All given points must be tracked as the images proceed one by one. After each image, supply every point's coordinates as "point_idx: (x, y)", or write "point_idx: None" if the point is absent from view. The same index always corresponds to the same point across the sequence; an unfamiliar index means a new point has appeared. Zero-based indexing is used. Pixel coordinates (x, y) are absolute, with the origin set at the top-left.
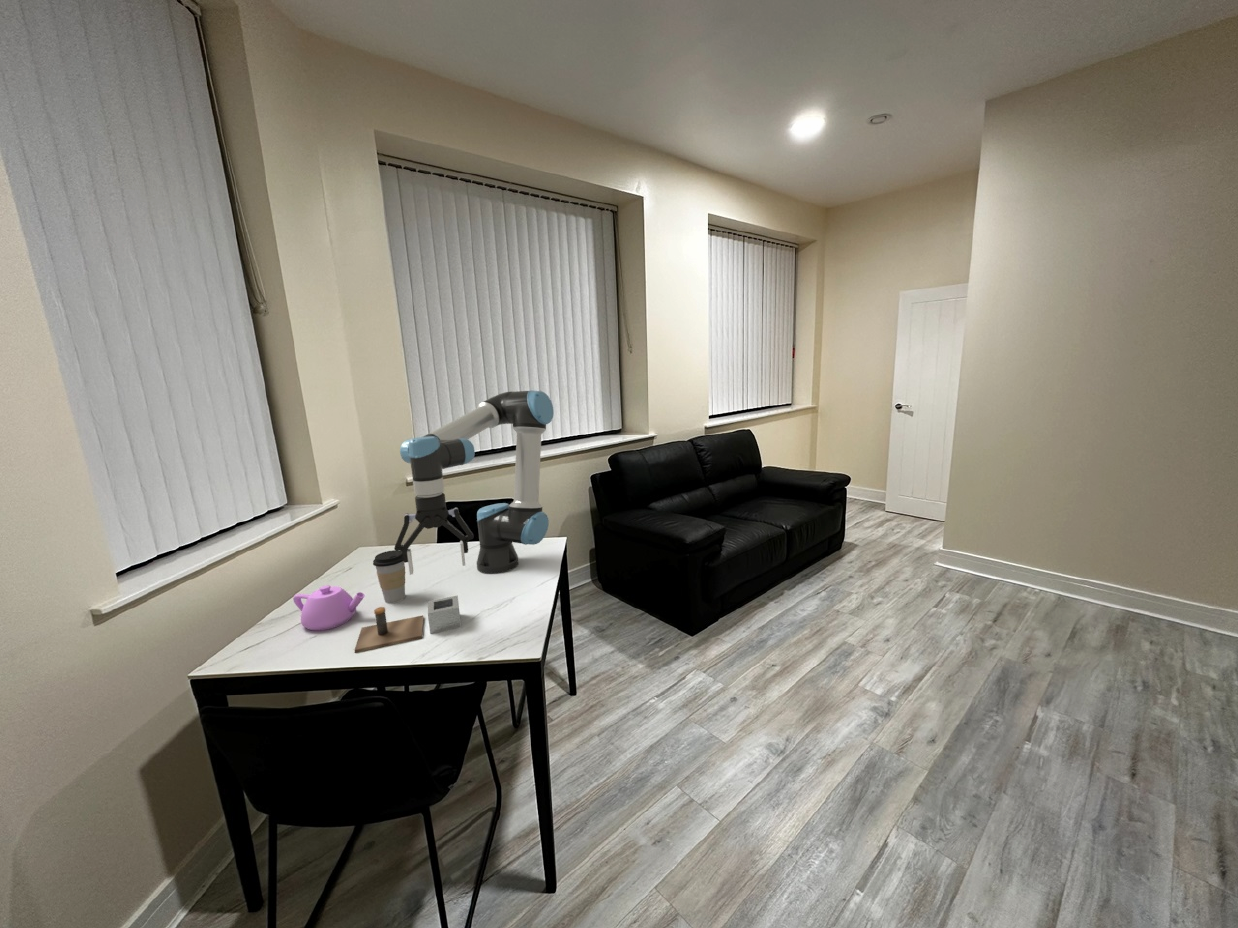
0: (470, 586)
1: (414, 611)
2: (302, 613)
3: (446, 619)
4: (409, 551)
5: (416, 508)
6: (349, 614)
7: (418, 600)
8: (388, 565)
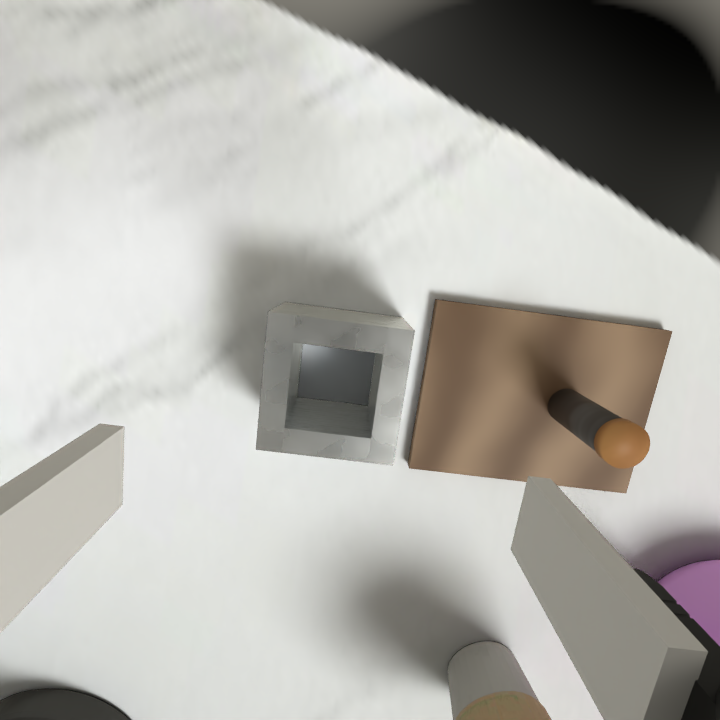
0: (199, 630)
1: (431, 533)
2: None
3: (334, 314)
4: (675, 646)
5: None
6: None
7: (405, 614)
8: None
